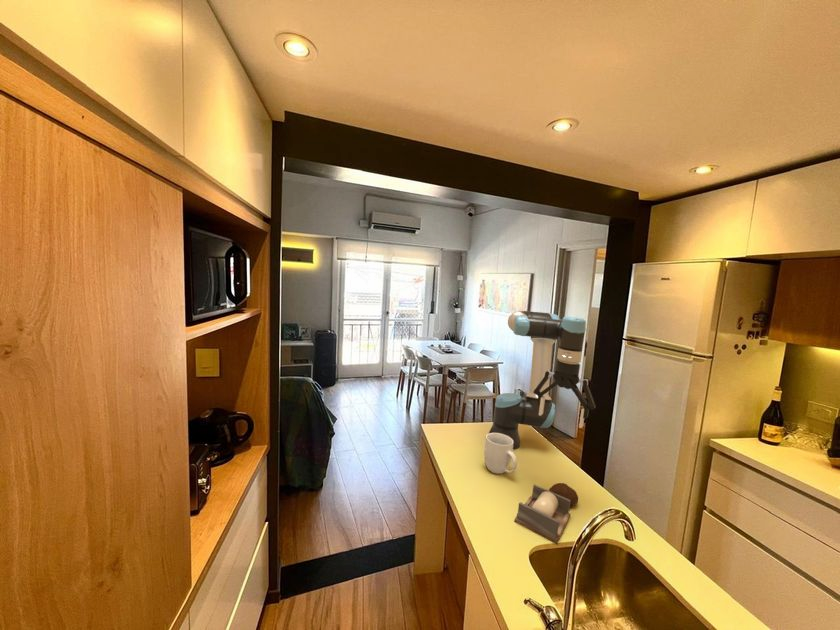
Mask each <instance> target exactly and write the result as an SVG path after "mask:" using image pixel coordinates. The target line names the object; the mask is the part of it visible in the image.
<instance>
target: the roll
mask: <svg viewBox="0 0 840 630" xmlns="http://www.w3.org/2000/svg"><path fill="white" fill-rule="evenodd" d="M557 507H558V500H557V498H556V497H555V496H554V495H553V494H552V493H550V492H547V491H545V492H542V493H541V495H540V496H539V497H538V499H537V500H536V502H535V503H534V504H533V506H532V507H531V508H534V509H536V510H538V511H540V512H542V513H544V514H546V515H548V516H550V517H552V516H553V514H554V512H555V511H556V509H557Z"/></svg>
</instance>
